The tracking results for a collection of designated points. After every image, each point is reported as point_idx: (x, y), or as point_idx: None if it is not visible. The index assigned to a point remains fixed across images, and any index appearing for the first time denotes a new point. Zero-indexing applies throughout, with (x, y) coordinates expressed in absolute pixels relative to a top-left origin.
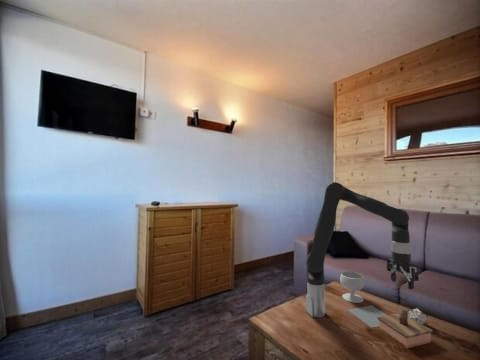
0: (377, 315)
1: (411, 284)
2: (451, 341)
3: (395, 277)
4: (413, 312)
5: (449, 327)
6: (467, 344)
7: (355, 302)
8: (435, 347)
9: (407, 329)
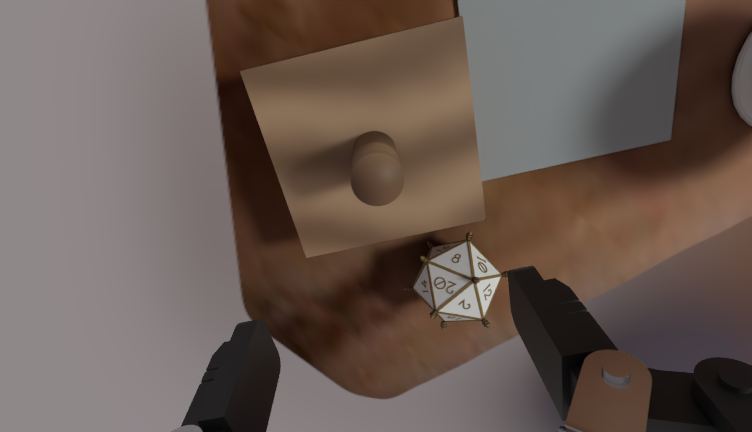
0: (563, 103)
1: (195, 395)
2: (323, 302)
3: (533, 353)
4: (457, 276)
5: (412, 360)
6: (306, 339)
7: (748, 41)
8: (282, 213)
9: (311, 130)
